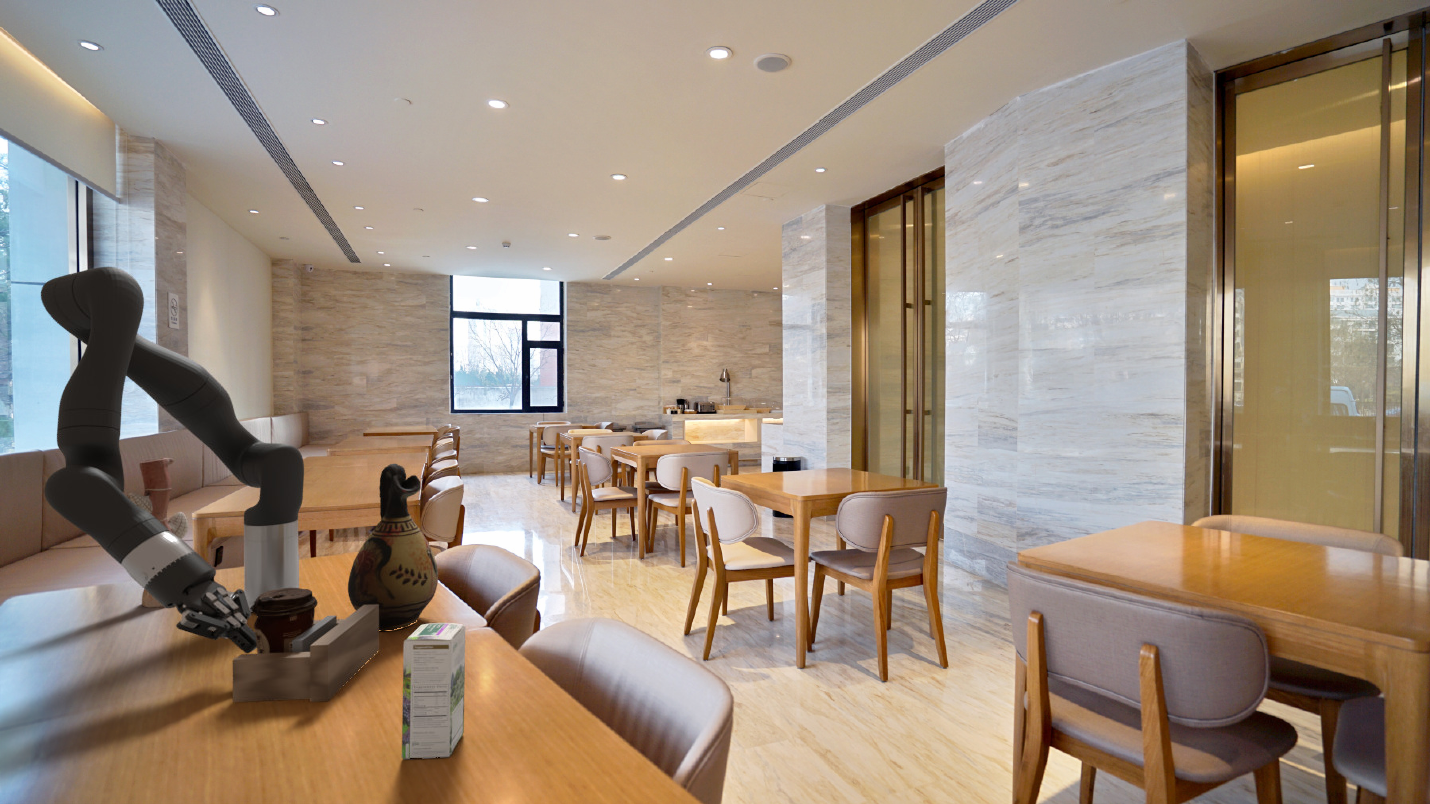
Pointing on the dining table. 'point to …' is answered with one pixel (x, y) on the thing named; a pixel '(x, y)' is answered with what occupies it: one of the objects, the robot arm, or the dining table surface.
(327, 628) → the pad
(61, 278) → the robot arm
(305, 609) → the coffee cup
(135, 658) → the dining table surface
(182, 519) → the vase
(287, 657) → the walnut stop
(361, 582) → the ceramic jug
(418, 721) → the syrup box
